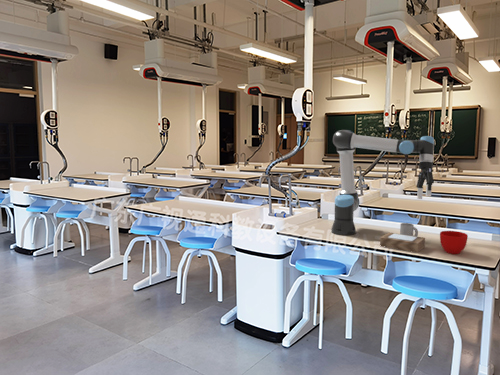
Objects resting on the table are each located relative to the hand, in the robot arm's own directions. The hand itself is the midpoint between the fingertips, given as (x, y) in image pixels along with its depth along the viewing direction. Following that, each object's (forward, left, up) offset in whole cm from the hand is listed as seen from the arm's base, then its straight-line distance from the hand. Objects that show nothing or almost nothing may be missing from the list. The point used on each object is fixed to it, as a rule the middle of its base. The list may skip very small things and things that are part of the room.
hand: (423, 197), depth 233 cm
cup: (+1, -9, -25) cm, 26 cm away
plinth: (+14, -20, -25) cm, 34 cm away
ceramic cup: (+26, +1, -25) cm, 36 cm away
